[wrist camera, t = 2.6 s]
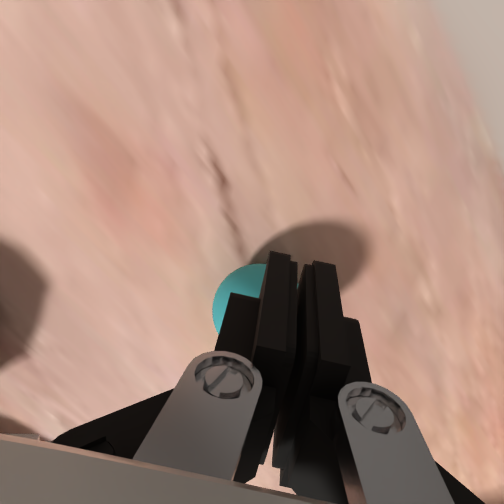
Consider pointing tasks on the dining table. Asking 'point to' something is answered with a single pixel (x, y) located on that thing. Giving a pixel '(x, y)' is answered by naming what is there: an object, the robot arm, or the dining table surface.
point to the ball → (237, 288)
